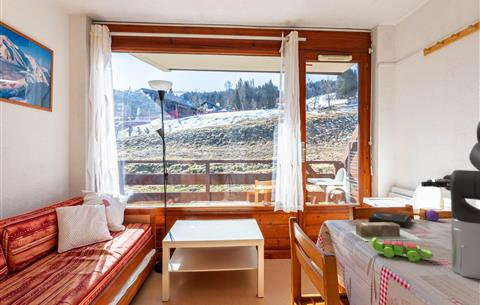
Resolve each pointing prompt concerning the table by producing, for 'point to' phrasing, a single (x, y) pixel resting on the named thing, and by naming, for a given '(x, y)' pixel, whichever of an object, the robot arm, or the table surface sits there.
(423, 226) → the table surface
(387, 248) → the toy crocodile
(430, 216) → the kendama
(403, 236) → the sage mat
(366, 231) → the walnut block
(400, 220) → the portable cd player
